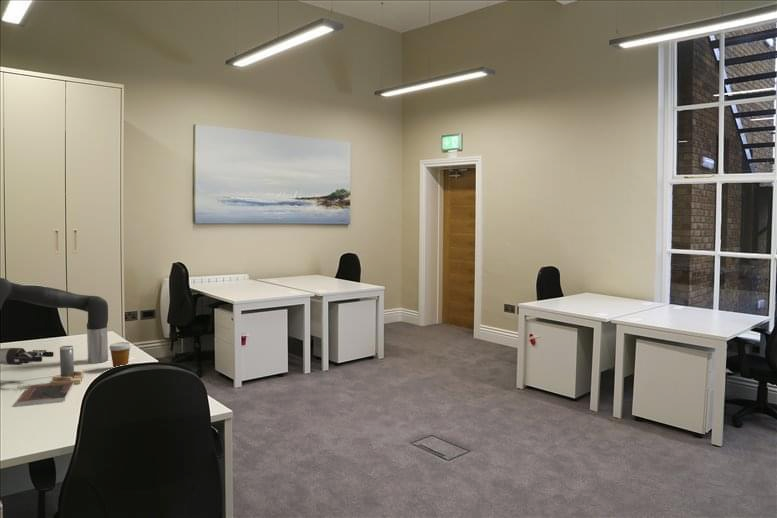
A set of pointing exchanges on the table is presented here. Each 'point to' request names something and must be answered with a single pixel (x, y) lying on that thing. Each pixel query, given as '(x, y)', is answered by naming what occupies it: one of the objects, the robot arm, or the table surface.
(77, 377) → the stand
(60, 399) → the picture frame
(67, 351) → the domed lid canister
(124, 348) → the disposable coffee cup
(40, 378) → the table surface
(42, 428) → the table surface
